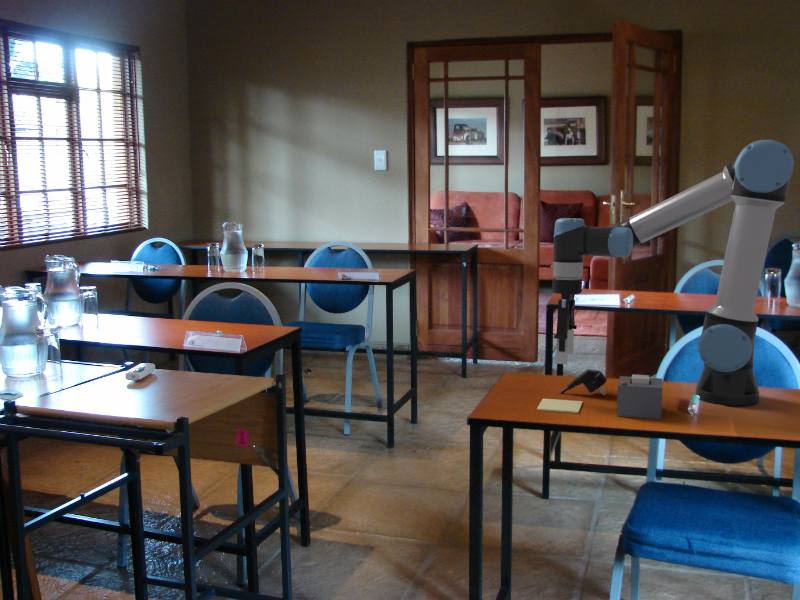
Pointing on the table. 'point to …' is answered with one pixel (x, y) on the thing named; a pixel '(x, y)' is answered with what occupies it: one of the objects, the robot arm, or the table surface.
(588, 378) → the power plug
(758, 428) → the table surface
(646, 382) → the button
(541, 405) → the pad
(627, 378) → the switch box
